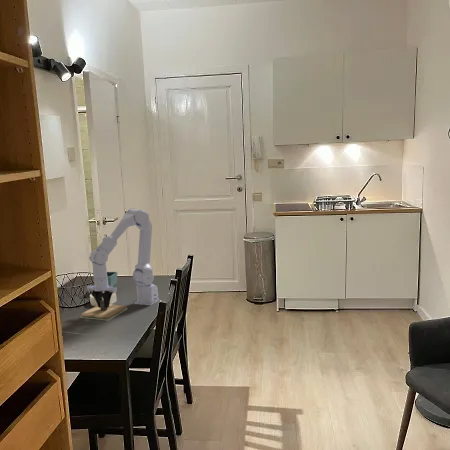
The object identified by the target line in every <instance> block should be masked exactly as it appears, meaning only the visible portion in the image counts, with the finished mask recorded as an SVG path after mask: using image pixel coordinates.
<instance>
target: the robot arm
mask: <svg viewBox="0 0 450 450" xmlns="http://www.w3.org/2000/svg"><path fill="white" fill-rule="evenodd" d="M134 226H136V227H137V228H138V229H139V240H138V255H137V263H136V265H135V266H134V271H133V273H132V278H133V280H134V281H135V287H136V288H135V289H136V299H137V301H135V302H133V304H134V305H142V306H152V305H154V304H156V303H157V302H159V301H160V299H159V288H158V286H157V284H153V283H154V278H155V276H154V272H153V268H152V265H151V263H150V262H151V248H152V236H153V235H152V234H153V233H152V232H153V225H152V222H151V219H150V214H149V213H148V212H147V211H146V210H144V209H136V208H130V209H128V210H127V211H126V213H124V214H123V216H122V219H121V220H120V221H119V223H118V225H117V226H116V227H115V228H114V230H113V231H112V232H111V234H110V235H106V236H104V237H103V238H102V241H101V243H99V245H98V246H96V247H95V249H94V250H93V251H91V252H90V253H89V254H90V256H88V257H89V258H88V259H89V260H90V262H91V264H92V265H91V266H92V273H93V282H94V285H88V286H86V290H87V291H88V292H90V291H91V293H90V294H92V296H93V297H94V298H95V300H96V302H97V305H98V307H99V308H100V301H101V300H102V297H103V300H104V306H105V308H108V307H109V304H110V299H111V296H112V294H113V293H117V292H118V287H117V286H115V287H112V286H108V278H107V272H108V270H107V263H106V262H107V261H108V259H109V256H110V254H111V252H113V250H114V249H115V247H116V246H117V245H118V240H119V238H120V237H122V235H123V234H124V233H125V232H126V231H127V229H128V228H130V227H134ZM103 292H104V293H103Z"/></svg>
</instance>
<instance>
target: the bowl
mask: <svg viewBox="0 0 450 450" xmlns="http://www.w3.org/2000/svg"><path fill="white" fill-rule="evenodd" d="M103 293H104V292H103ZM102 300H103V297H102ZM116 302H118V299H117V292H115V293H113V294H112V296H111V299H110V304H112V305H113V304H114V303H116ZM89 303H90V305H91V306H93V307H95V306H97V302H96V300H95V298H94V297H93V296H92V294H91V293H90V294H89Z"/></svg>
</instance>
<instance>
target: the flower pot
mask: <svg viewBox="0 0 450 450" xmlns="http://www.w3.org/2000/svg"><path fill="white" fill-rule="evenodd" d="M107 278H108V286H112V287H117V283H118V271H107Z"/></svg>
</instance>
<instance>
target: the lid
mask: <svg viewBox="0 0 450 450" xmlns="http://www.w3.org/2000/svg"><path fill="white" fill-rule="evenodd" d="M125 308H126V309H128V307H127V305H121V304H113V303H112V304H109V307H108V308H105V306H104V300H101V301H100V308H99V307H98V305H97V306H93V307H92V308H90V309H88V310H85V311H84V312H81V314H80V317H81V316H89V317H99V318H109V317H111V316H113V315H115V314H116V313H118V312H120V311H121V310H123V309H125Z"/></svg>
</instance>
